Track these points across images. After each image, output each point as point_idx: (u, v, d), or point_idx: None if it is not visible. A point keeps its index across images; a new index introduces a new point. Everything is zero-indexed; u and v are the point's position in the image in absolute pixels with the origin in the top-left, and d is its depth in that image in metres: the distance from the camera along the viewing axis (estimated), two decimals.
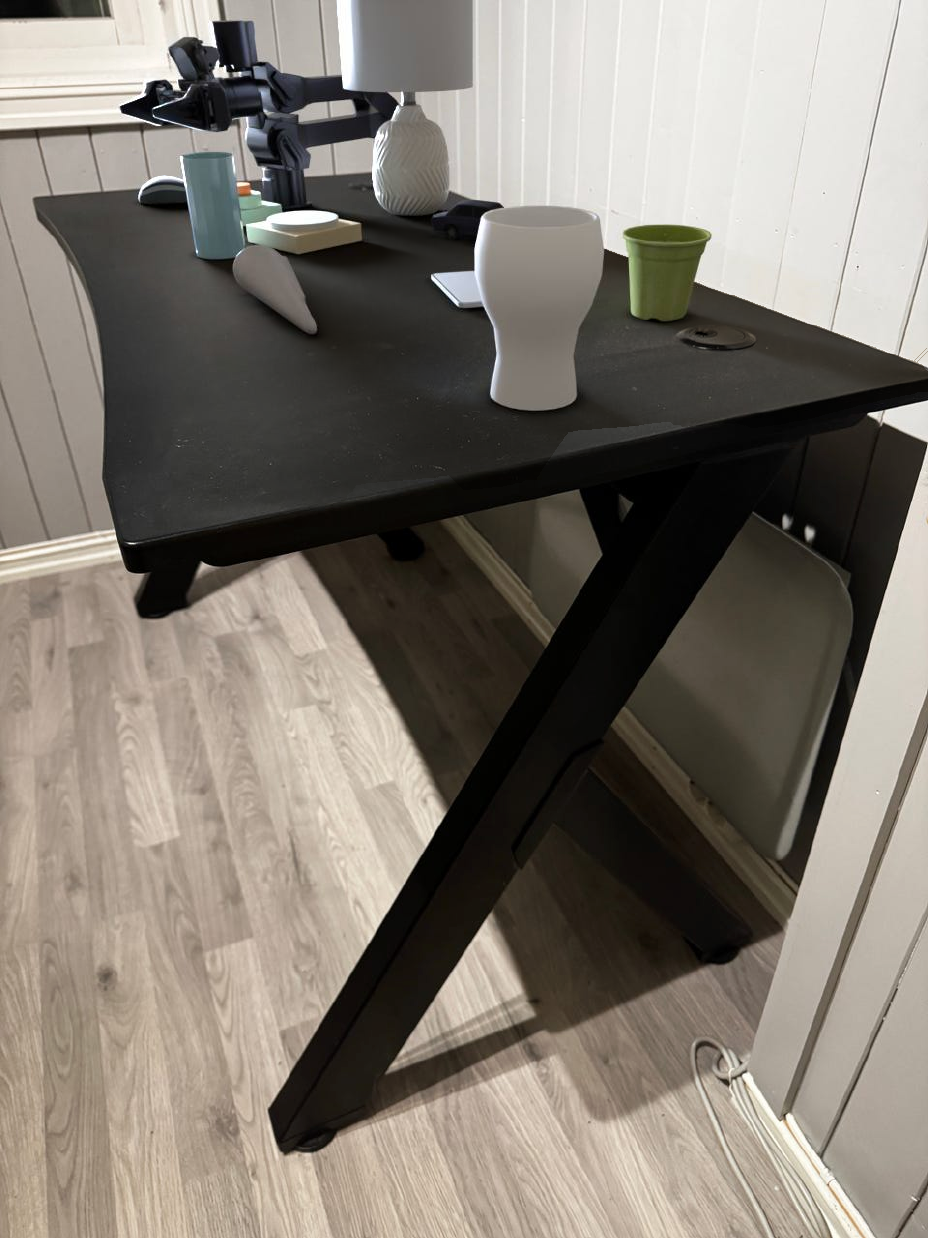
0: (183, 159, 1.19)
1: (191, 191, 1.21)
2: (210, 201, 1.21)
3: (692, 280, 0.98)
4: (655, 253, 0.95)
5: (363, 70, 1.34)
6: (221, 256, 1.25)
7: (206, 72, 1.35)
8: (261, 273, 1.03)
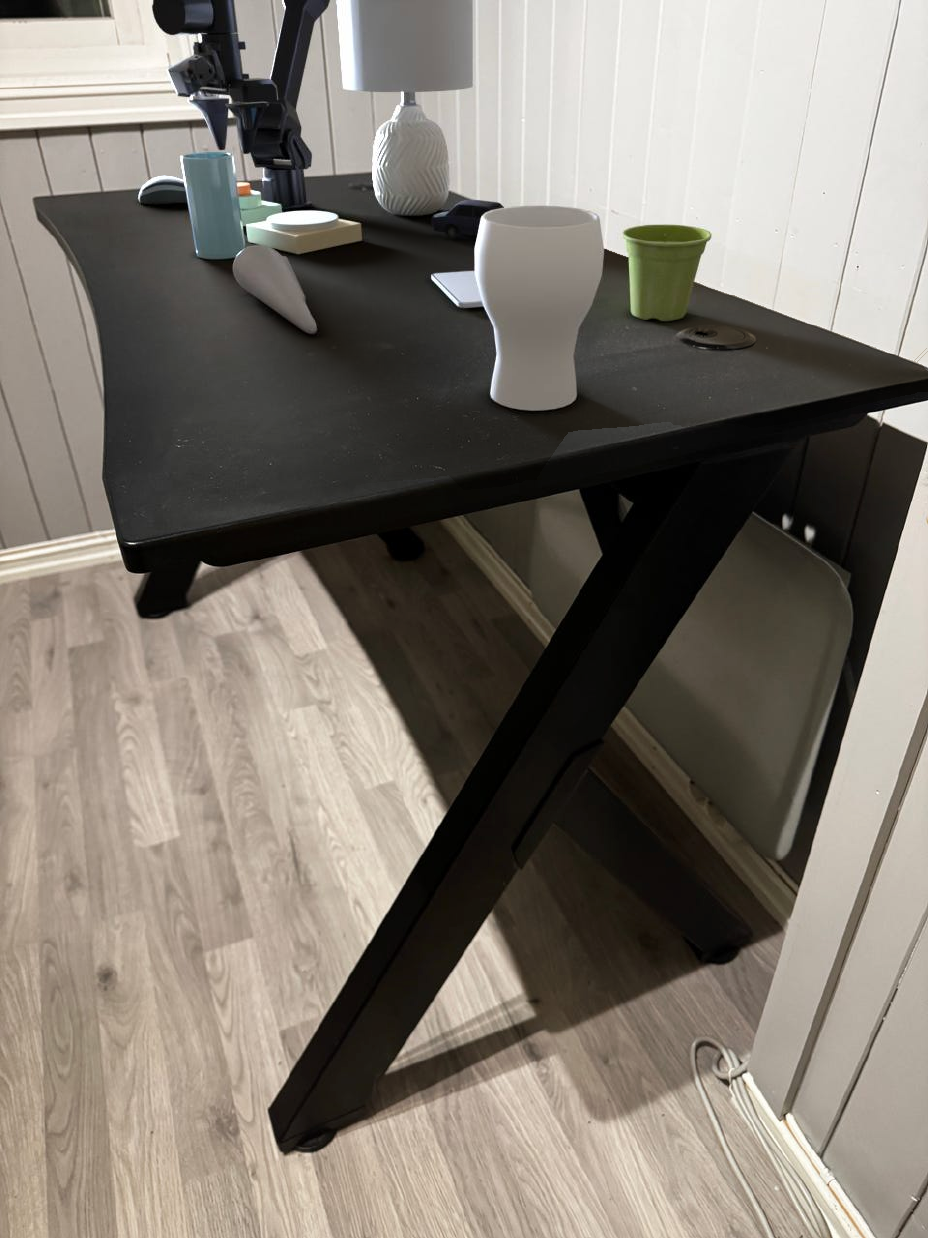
0: (183, 159, 1.19)
1: (191, 191, 1.21)
2: (210, 201, 1.21)
3: (692, 280, 0.98)
4: (655, 253, 0.95)
5: (363, 70, 1.34)
6: (221, 256, 1.25)
7: None
8: (261, 273, 1.03)
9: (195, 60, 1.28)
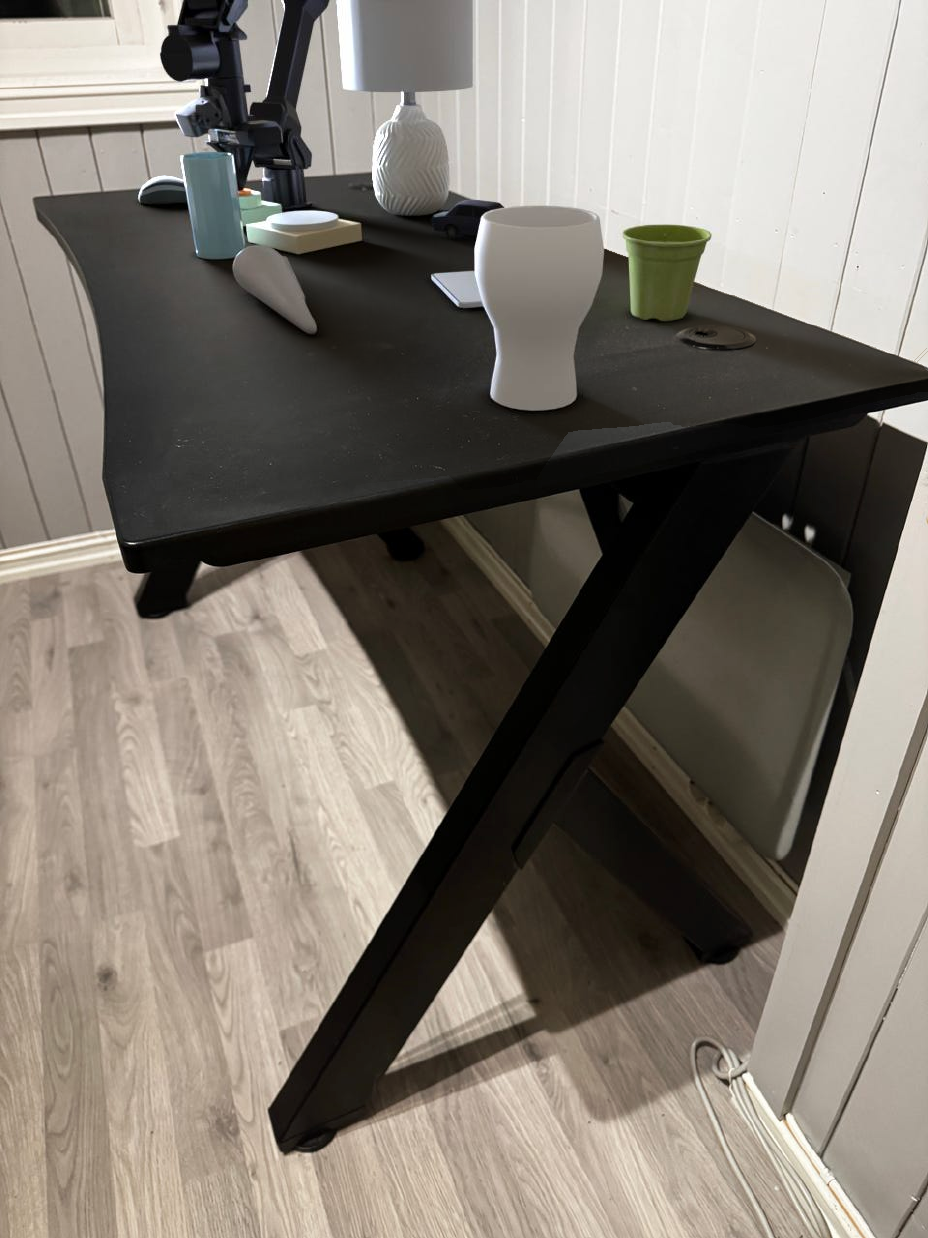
0: (183, 159, 1.19)
1: (191, 191, 1.21)
2: (210, 201, 1.21)
3: (692, 280, 0.98)
4: (655, 253, 0.95)
5: (363, 70, 1.34)
6: (221, 256, 1.25)
7: None
8: (261, 273, 1.03)
9: (202, 105, 1.31)
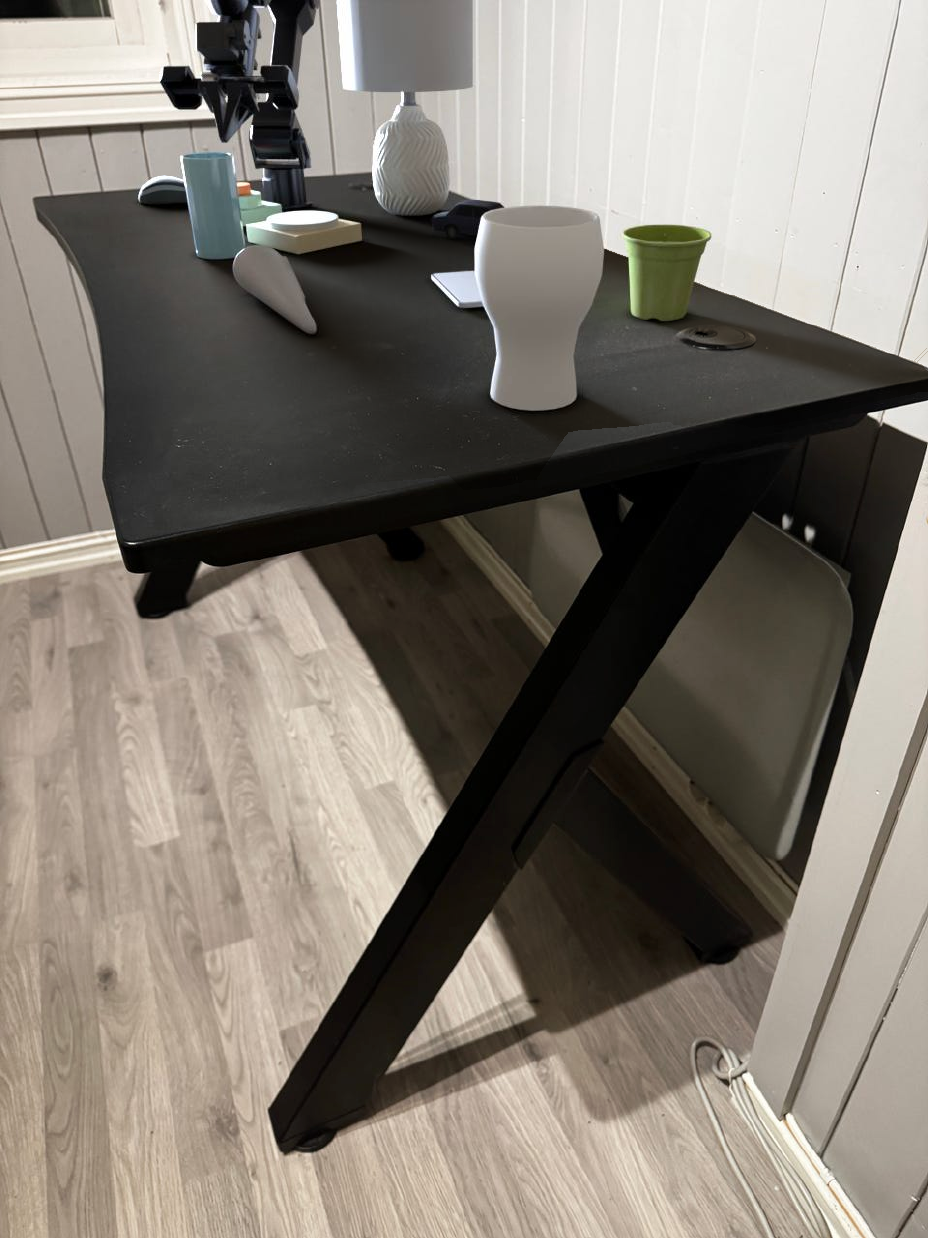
0: (183, 159, 1.19)
1: (191, 191, 1.21)
2: (210, 201, 1.21)
3: (692, 280, 0.98)
4: (655, 253, 0.95)
5: (363, 70, 1.34)
6: (221, 256, 1.25)
7: None
8: (261, 273, 1.03)
9: (244, 20, 1.22)
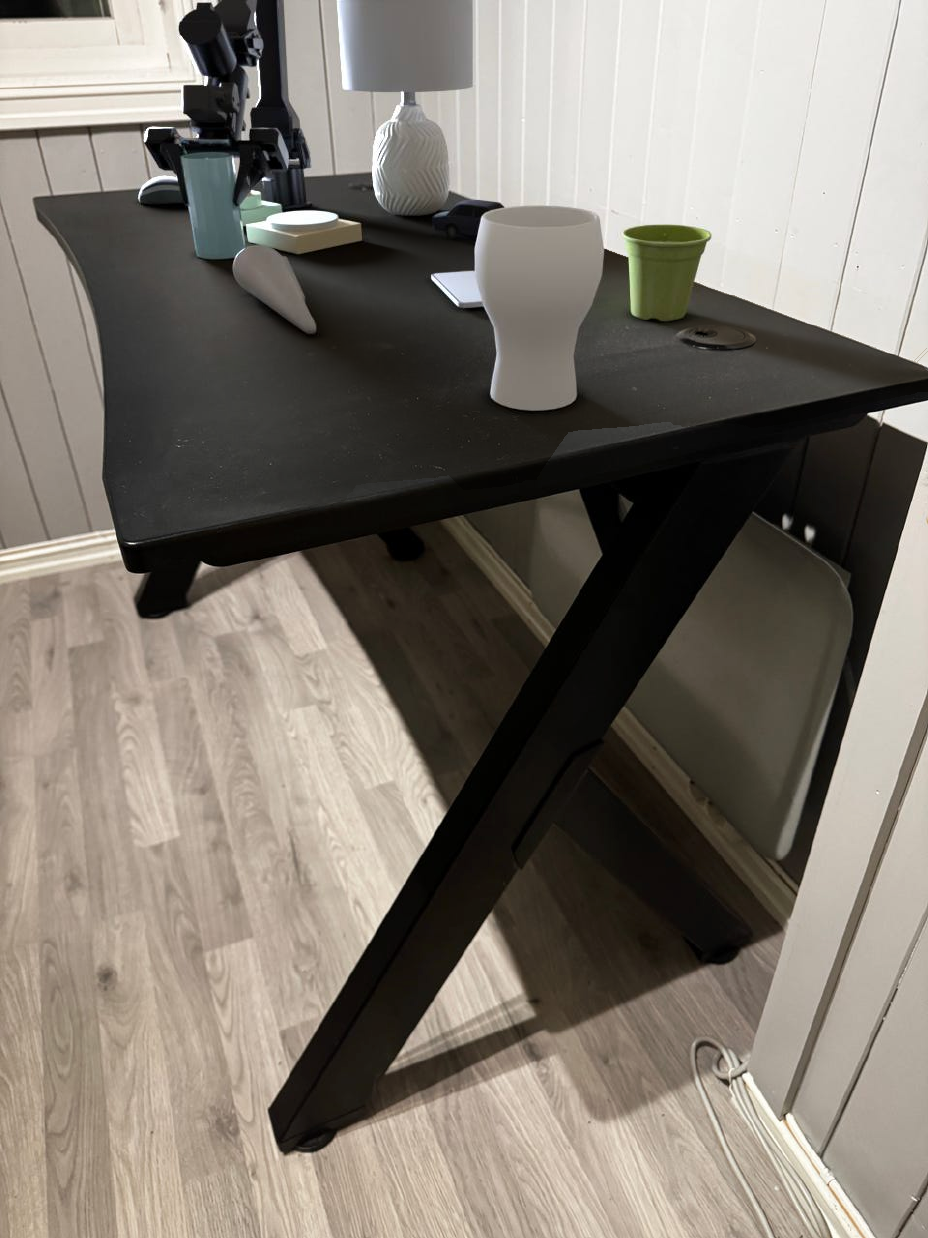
0: (183, 159, 1.19)
1: (191, 191, 1.21)
2: (210, 201, 1.21)
3: (692, 280, 0.98)
4: (655, 253, 0.95)
5: (363, 70, 1.34)
6: (221, 256, 1.25)
7: None
8: (261, 273, 1.03)
9: (233, 83, 1.18)
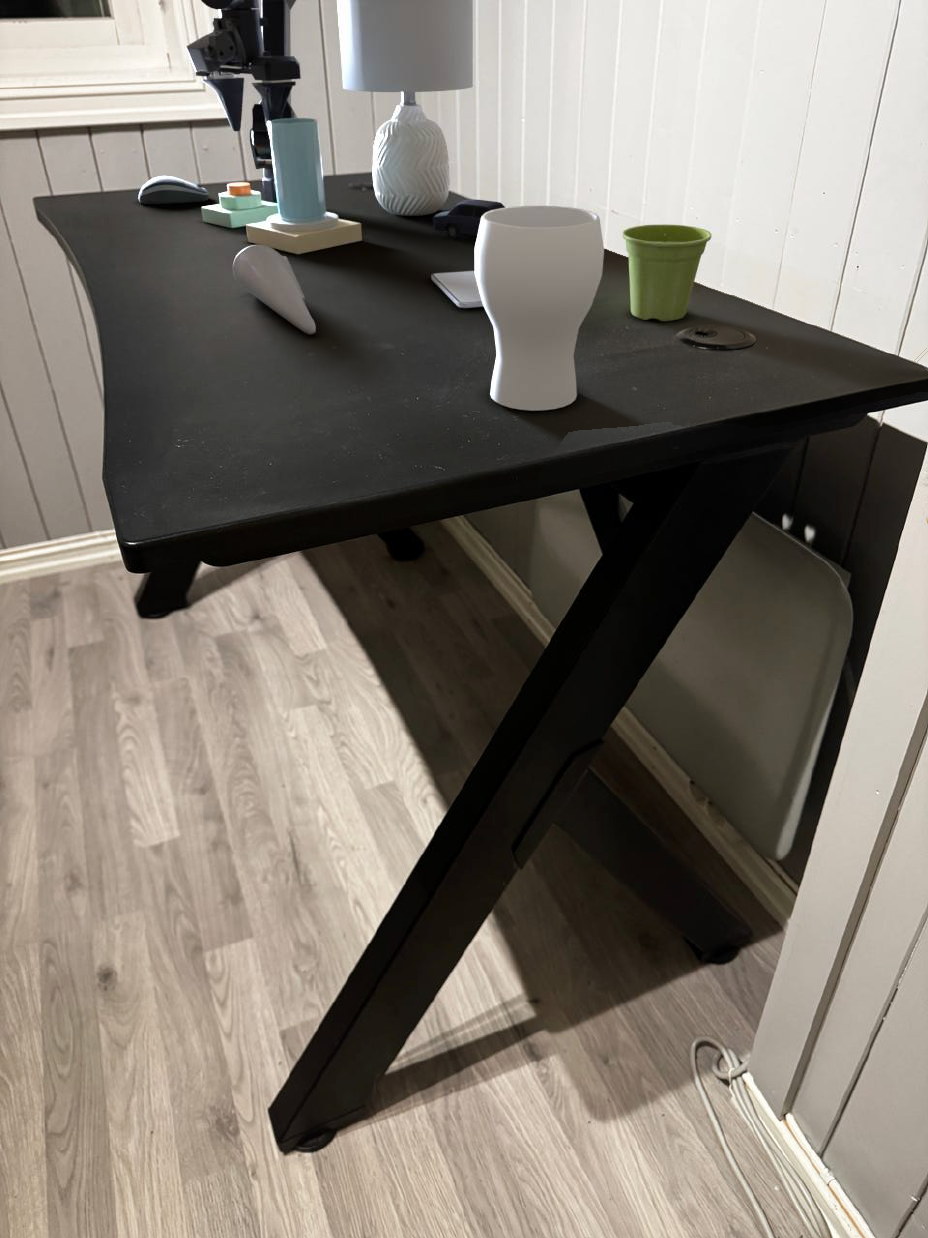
0: (277, 124, 1.23)
1: (285, 155, 1.25)
2: (305, 164, 1.26)
3: (692, 280, 0.98)
4: (655, 253, 0.95)
5: (363, 70, 1.34)
6: (312, 218, 1.30)
7: None
8: (261, 273, 1.03)
9: (216, 36, 1.23)
